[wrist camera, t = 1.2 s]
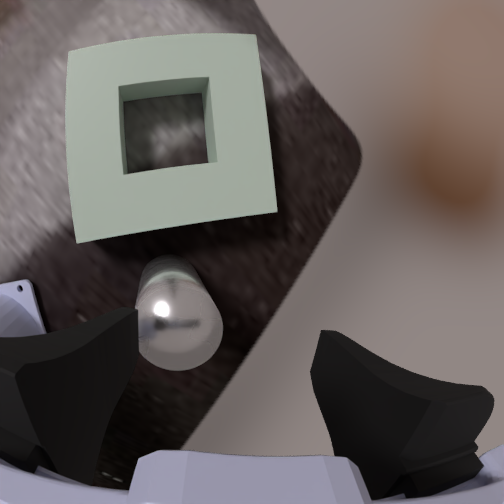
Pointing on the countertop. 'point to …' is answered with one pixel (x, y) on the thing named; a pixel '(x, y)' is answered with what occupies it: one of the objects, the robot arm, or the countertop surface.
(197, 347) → the steel peg
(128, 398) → the countertop surface
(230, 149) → the hole block
